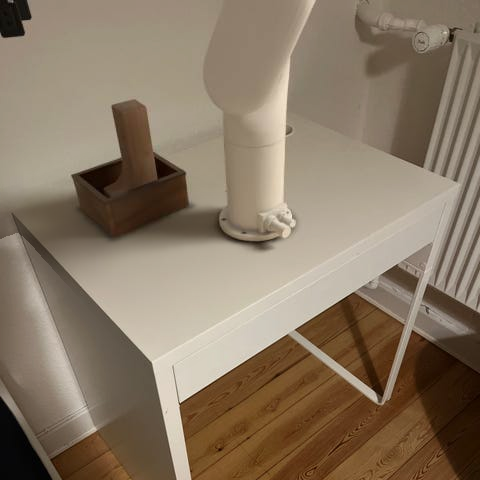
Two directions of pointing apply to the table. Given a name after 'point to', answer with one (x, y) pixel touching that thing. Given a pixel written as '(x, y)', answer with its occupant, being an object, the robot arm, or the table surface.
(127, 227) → the wooden box
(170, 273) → the table surface
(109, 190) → the wooden block
